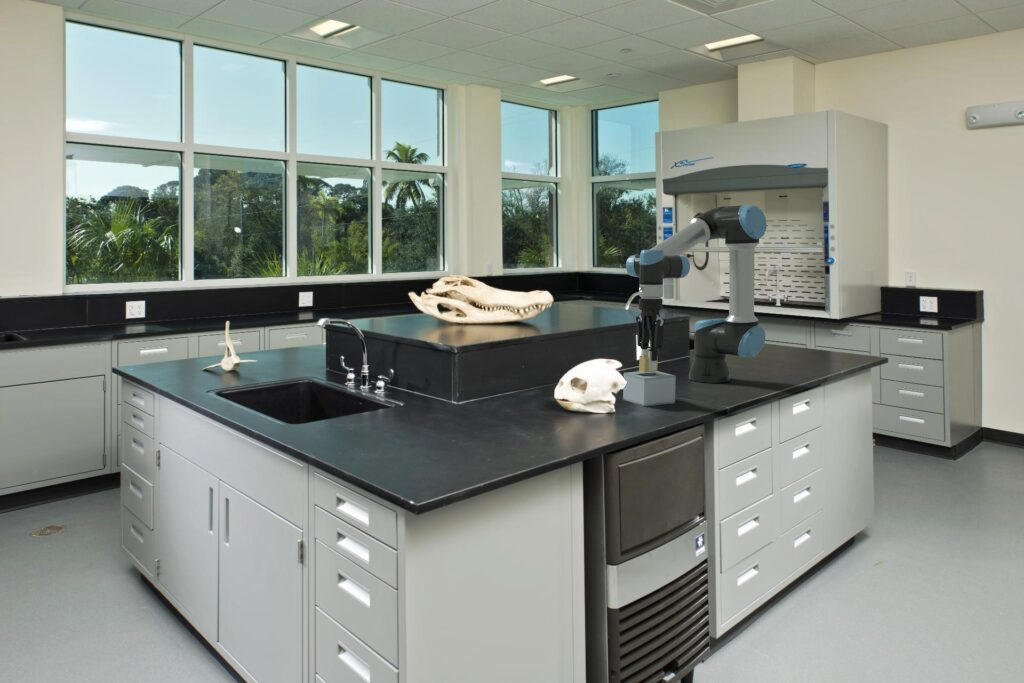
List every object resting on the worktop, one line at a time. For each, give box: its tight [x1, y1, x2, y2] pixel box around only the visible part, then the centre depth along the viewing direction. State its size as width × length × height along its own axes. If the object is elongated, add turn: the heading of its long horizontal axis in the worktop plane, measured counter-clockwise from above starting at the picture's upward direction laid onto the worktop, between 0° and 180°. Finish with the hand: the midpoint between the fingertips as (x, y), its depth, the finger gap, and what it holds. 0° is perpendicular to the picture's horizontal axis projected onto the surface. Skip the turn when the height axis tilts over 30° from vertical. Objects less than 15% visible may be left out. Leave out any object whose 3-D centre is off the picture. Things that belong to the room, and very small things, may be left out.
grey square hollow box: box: [622, 370, 677, 408], centre depth 247 cm, size 12×12×9 cm
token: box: [638, 355, 659, 372], centre depth 246 cm, size 5×3×5 cm, turn 114°
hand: (648, 369), depth 246 cm, fingers closed on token, 3 cm apart
